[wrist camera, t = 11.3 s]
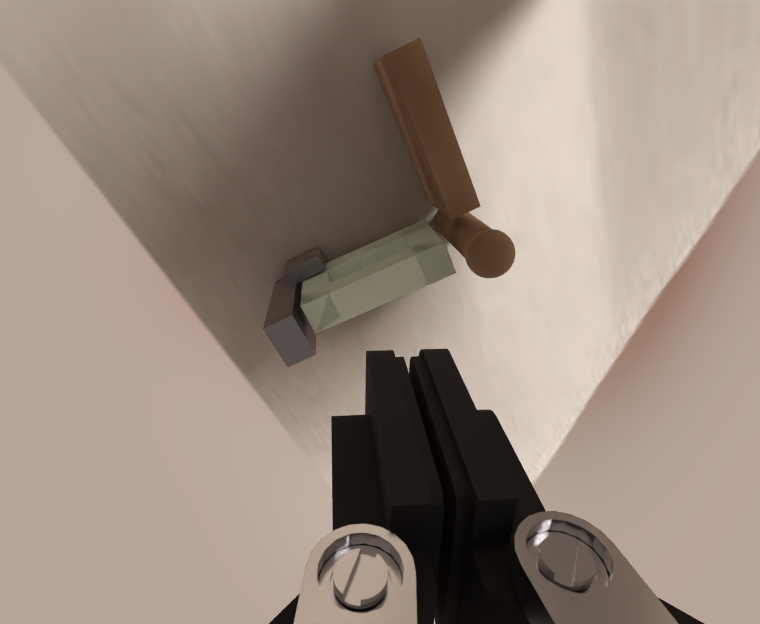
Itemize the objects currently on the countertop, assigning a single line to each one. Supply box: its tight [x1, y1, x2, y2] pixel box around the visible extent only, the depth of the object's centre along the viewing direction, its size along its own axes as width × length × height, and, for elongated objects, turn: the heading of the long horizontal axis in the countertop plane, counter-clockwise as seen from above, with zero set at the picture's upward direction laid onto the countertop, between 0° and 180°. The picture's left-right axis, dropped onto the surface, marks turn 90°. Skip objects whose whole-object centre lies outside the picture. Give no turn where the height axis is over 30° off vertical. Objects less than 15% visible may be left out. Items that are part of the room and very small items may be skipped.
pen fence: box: [374, 38, 515, 278], centre depth 26 cm, size 3×12×10 cm, turn 25°
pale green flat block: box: [300, 220, 456, 334], centre depth 30 cm, size 9×2×6 cm, turn 113°
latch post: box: [263, 247, 325, 367], centre depth 30 cm, size 4×4×8 cm
